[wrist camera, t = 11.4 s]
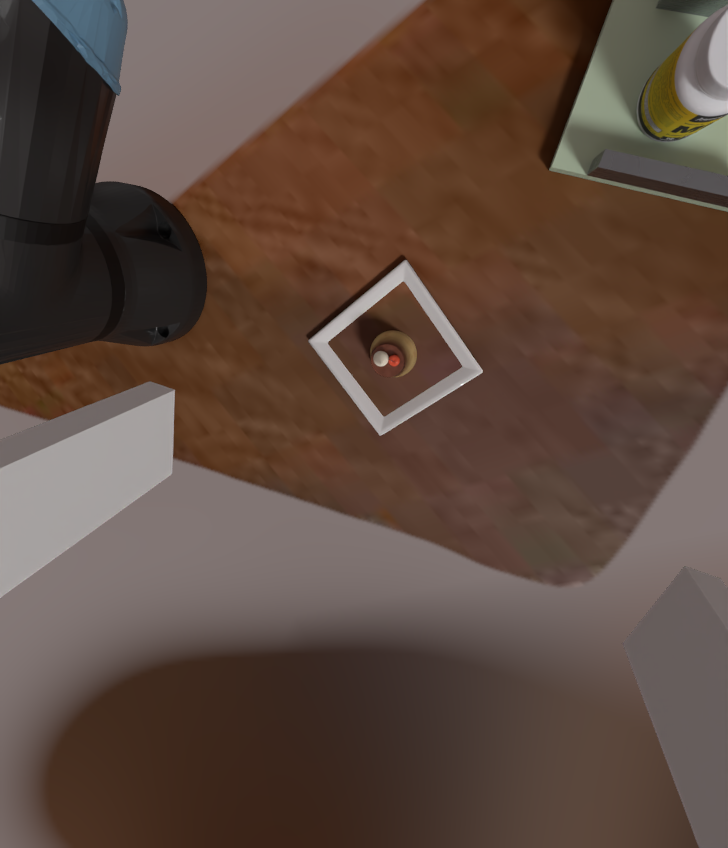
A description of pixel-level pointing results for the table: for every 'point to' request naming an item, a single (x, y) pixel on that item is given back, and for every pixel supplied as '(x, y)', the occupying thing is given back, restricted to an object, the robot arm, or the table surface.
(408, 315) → the table surface
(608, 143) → the board
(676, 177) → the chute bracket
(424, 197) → the table surface
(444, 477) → the table surface
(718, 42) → the supplement bottle
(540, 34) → the table surface
